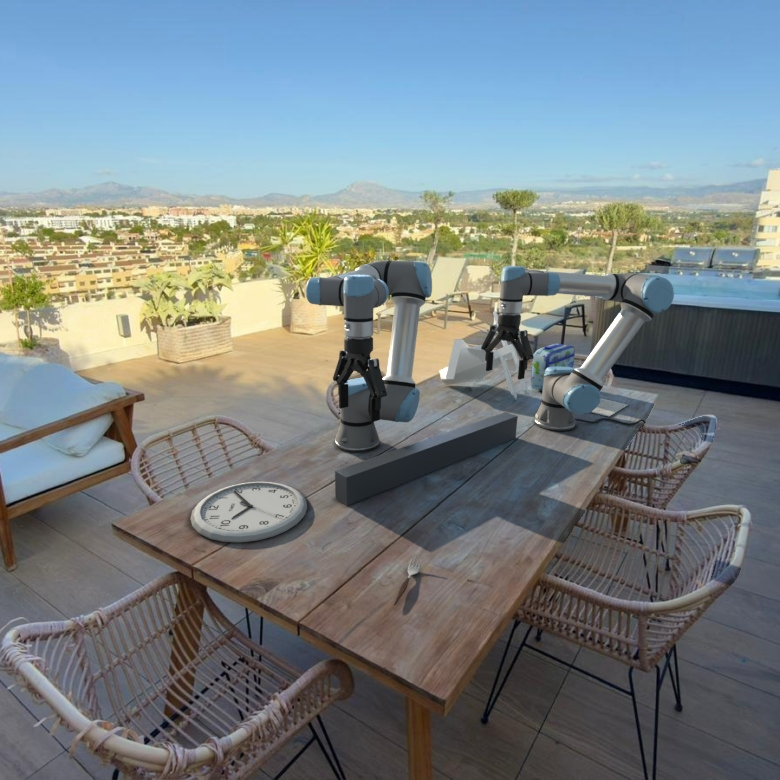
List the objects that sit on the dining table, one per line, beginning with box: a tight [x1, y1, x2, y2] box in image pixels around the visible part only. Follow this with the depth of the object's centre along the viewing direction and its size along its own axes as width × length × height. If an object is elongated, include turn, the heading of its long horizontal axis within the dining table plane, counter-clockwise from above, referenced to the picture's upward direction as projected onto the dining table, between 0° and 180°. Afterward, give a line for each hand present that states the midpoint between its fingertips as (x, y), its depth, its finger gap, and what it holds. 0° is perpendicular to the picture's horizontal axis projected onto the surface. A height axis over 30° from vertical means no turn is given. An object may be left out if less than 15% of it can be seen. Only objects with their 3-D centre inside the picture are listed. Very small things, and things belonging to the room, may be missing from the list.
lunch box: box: [530, 343, 576, 391], centre depth 249 cm, size 26×11×21 cm, turn 134°
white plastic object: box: [438, 310, 531, 400], centre depth 245 cm, size 37×45×31 cm
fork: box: [393, 553, 424, 606], centre depth 112 cm, size 3×16×2 cm, turn 160°
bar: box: [334, 411, 518, 507], centre depth 167 cm, size 77×5×9 cm, turn 131°
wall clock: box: [190, 481, 308, 544], centre depth 139 cm, size 30×2×30 cm
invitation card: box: [590, 397, 629, 418], centre depth 226 cm, size 21×1×15 cm
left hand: (358, 414), depth 141 cm, fingers open, 13 cm apart
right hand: (504, 374), depth 182 cm, fingers open, 13 cm apart
